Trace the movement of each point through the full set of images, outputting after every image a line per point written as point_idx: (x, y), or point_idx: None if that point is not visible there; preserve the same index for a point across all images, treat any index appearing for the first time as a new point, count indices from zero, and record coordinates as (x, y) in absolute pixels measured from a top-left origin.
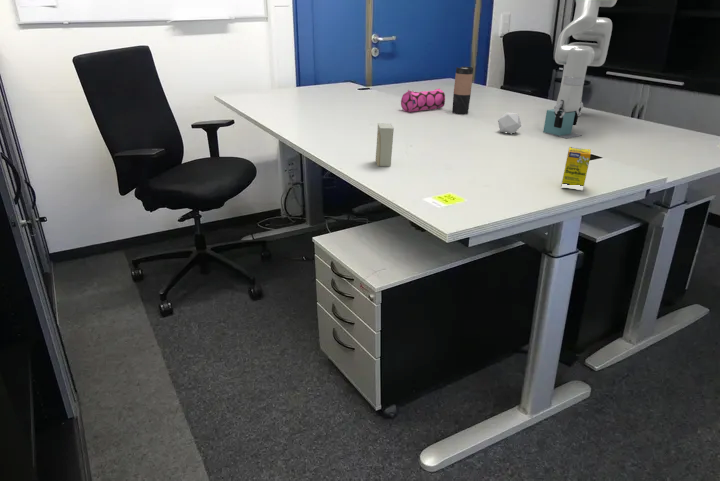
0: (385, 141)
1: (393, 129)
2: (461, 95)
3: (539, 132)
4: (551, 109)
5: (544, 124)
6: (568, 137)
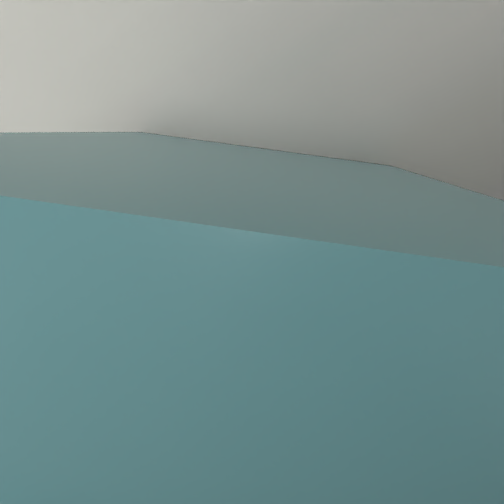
0: None
1: None
2: None
3: (82, 110)
4: (12, 221)
5: (86, 133)
6: None
